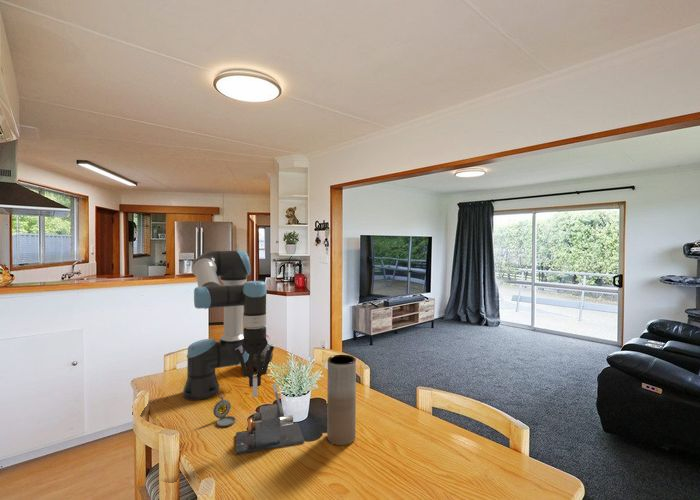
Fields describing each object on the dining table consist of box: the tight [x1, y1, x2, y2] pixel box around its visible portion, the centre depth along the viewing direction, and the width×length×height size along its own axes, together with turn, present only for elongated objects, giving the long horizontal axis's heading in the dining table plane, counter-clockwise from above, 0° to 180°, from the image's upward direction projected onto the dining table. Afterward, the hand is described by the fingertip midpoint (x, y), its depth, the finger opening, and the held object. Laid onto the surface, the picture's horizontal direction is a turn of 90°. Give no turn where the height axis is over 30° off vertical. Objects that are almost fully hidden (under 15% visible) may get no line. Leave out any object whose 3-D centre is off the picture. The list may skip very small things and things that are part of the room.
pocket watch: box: [212, 393, 236, 428], centre depth 129 cm, size 8×8×10 cm
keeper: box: [272, 383, 285, 417], centre depth 118 cm, size 8×1×9 cm, turn 19°
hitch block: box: [235, 403, 305, 456], centre depth 118 cm, size 12×22×10 cm, turn 109°
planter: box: [326, 354, 357, 446], centre depth 119 cm, size 10×10×28 cm
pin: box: [247, 414, 294, 435], centre depth 118 cm, size 5×15×5 cm, turn 109°
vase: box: [245, 334, 274, 371], centre depth 186 cm, size 17×18×30 cm
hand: (254, 395), depth 116 cm, fingers closed
